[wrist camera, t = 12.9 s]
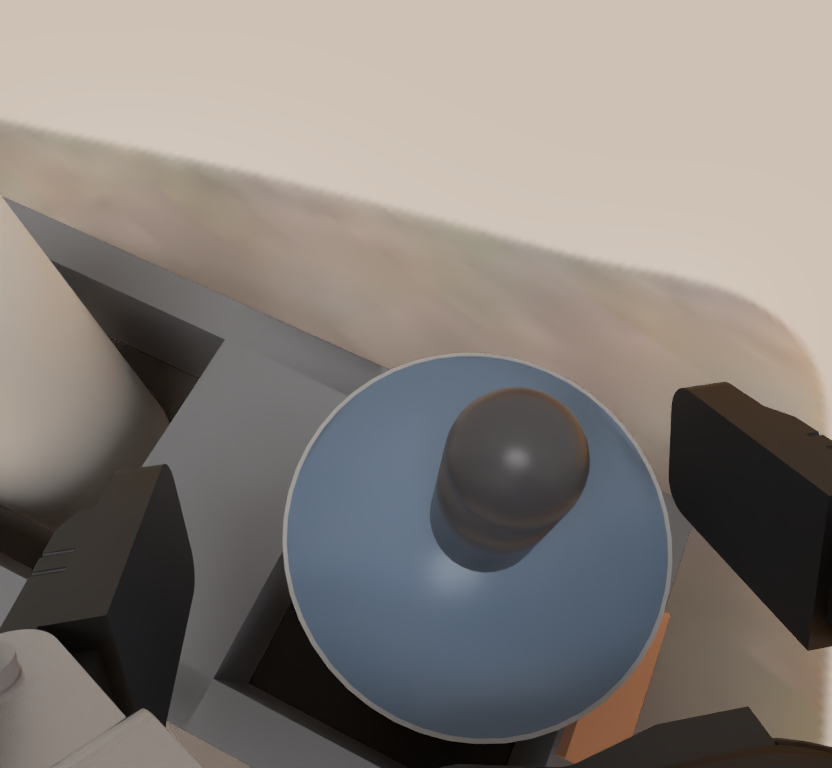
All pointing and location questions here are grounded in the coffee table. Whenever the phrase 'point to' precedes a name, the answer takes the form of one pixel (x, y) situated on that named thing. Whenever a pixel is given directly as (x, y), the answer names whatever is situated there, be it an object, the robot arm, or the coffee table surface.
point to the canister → (477, 548)
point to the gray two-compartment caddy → (200, 470)
